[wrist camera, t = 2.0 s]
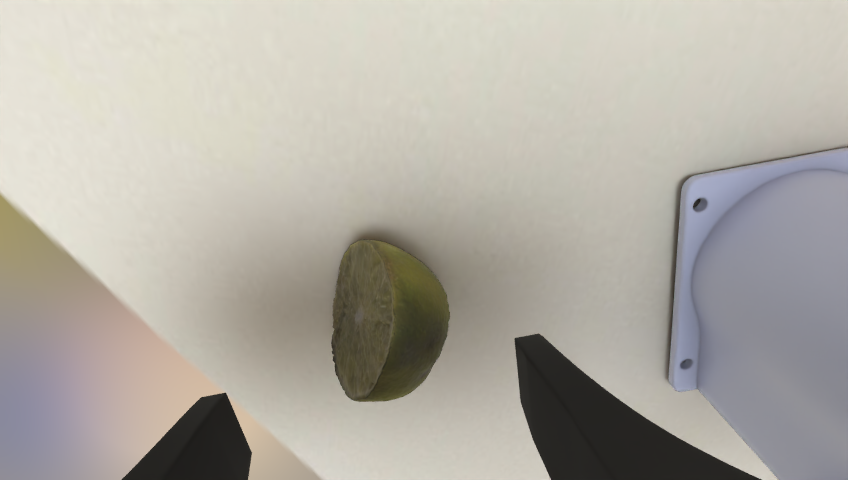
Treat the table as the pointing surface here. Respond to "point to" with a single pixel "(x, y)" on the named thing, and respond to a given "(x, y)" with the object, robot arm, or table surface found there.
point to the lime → (386, 322)
